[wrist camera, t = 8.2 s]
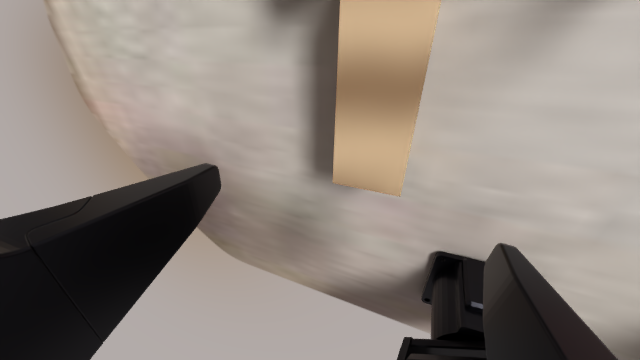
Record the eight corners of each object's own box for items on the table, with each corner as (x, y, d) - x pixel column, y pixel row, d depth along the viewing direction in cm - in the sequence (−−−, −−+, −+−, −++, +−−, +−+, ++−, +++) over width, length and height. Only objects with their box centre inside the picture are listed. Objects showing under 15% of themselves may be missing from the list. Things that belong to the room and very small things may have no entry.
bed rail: (407, 155, 20) (400, 196, 16) (352, 146, 21) (332, 182, 17) (466, -130, 12) (479, -183, 8) (374, -123, 13) (347, -166, 10)
